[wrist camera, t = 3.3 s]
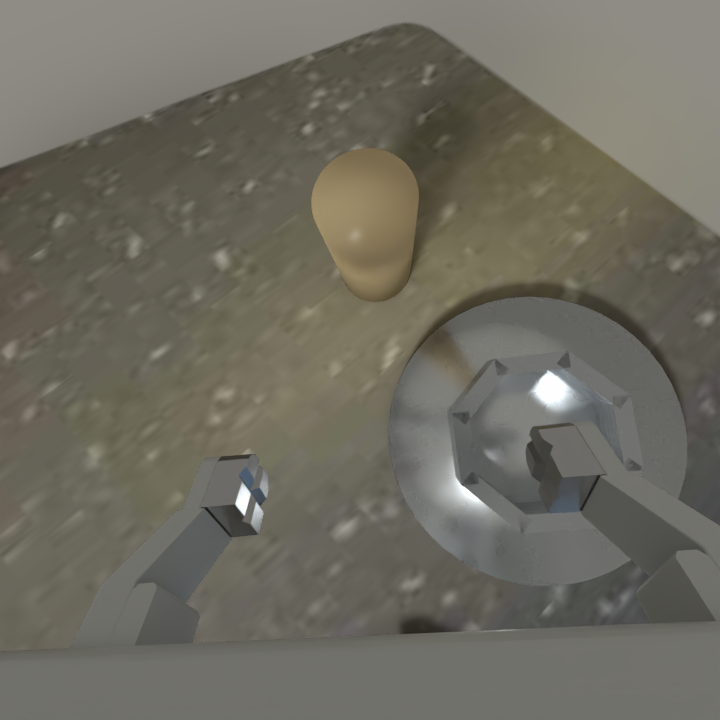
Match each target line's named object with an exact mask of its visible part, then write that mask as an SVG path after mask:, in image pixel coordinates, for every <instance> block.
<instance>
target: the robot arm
mask: <svg viewBox="0 0 720 720" xmlns="http://www.w3.org/2000/svg"><path fill="white" fill-rule="evenodd" d="M529 435H530V437H531V439H532V441H530V442H529V443H528V444H527V446H526V451H525V452H526V461H527V465H528V468H529V471H530V473H531V475H532V477H533V478H535V479H536V480H537V481H539V482H540V486H539V490H538V492H539V494H540V496H541V499H542V501H543V503H544V505H545V508H546V510H547V512H548V513H570V512H581V514H582V515H583V516H584V517H585V518H586V519H587V520H588V521H589V522H590V523H591V524H593V525H594V526H595V527H596V528H597V529H598V530H599V531H600V532H601V533H603V534H604V535H605V536H606V537H607V538H608V539H609V540H610V541H611V542H612V543H614V544H615V545H616V546H617V547H618V548H619V549H620V550H621V551H622V552H623V553H625V554H626V555H627V556H628V557H629V558H630V559H631V560H632V561H633V562H635V563H636V564H637V565H638V566H639V567H640V568H641V569H642V570H643V571H644V572H646V573H647V574H648V575H649V576H650V578H648V579H647V580H646V581H645V582H644V583H643V584H642V585H641V586H640V587H639V588H638V590H637V592H636V596H637V598H638V600H639V602H640V604H641V606H642V608H643V610H644V611H645V613H646V615H647V617H648V619H649V621H650V623H651V624H628V625H605V626H581V627H558V628H534V629H510V630H487V631H463V632H440V633H416V634H393V635H369V636H346V637H322V638H299V639H275V640H251V641H228V642H204V643H193V639H194V636H195V632H196V629H197V625H198V621H199V618H200V615H199V613H198V611H196V610H195V609H193V608H192V607H190V606H189V605H187V604H186V602H187V600H188V599H189V597H190V596H191V595H192V593H193V592H194V591H195V589H196V588H197V586H198V585H199V584H200V582H201V581H202V579H203V578H204V577H205V575H206V574H207V573H208V571H209V570H210V568H211V567H212V566H213V564H214V563H215V561H216V560H217V559H218V557H219V556H220V555H221V553H222V552H223V550H224V549H225V548H226V546H227V545H228V544H229V542H230V541H231V539H232V538H231V537H240V536H250V535H259V530H260V526H261V521H262V517H263V511H262V509H261V507H260V505H261V504H262V503H263V502H264V501H265V500H266V498H267V494H268V476H267V473H266V471H265V469H264V468H263V467H261V466H259V465H258V463H259V459H258V457H257V456H256V454H247V455H234V456H220V457H209V458H205V459H204V460H203V462H202V463H201V465H200V467H199V470H198V472H197V474H196V477H195V479H194V482H193V484H192V487H191V489H190V491H189V494H188V496H187V499H186V501H185V504H184V506H183V508H182V510H177V511H176V512H175V513H174V514H173V515H172V516H171V517H170V518H169V519H168V520H167V521H166V522H165V523H164V524H163V525H162V526H161V527H160V528H159V529H158V530H157V531H156V532H155V533H154V534H153V535H152V536H151V537H150V538H149V539H147V540H146V541H145V542H144V543H143V544H142V545H141V546H140V547H139V548H138V549H137V550H136V551H135V552H134V553H133V554H132V555H131V556H130V557H129V558H128V559H127V560H126V561H125V562H124V563H123V564H122V565H121V566H120V567H119V568H118V569H117V570H116V571H115V572H114V573H113V574H112V575H111V576H110V577H109V578H108V579H107V580H106V581H105V582H104V583H103V584H102V585H101V587H100V589H99V591H98V593H97V595H96V597H95V599H94V601H93V603H92V605H91V607H90V609H89V611H88V613H87V615H86V617H85V619H84V621H83V623H82V625H81V627H80V629H79V631H78V633H77V635H76V637H75V639H74V640H73V642H72V644H71V646H70V648H63V649H39V650H16V651H0V720H720V526H719V525H717V524H716V523H714V522H713V521H711V520H709V519H708V518H706V517H705V516H703V515H701V514H700V513H698V512H697V511H695V510H693V509H692V508H690V507H689V506H687V505H685V504H684V503H682V502H681V501H679V500H677V499H676V498H674V497H673V496H671V495H670V494H668V493H666V492H665V491H663V490H662V489H660V488H658V487H657V486H655V485H654V484H652V483H650V482H649V481H647V480H646V479H644V478H642V477H641V476H639V475H638V474H636V473H628V471H627V470H626V468H625V467H624V465H623V464H622V462H621V461H620V460H619V458H618V457H617V455H616V454H615V452H614V451H613V449H612V448H611V447H610V445H609V444H608V442H607V441H606V439H605V438H604V436H603V435H602V434H601V432H600V431H599V429H598V428H597V426H596V425H595V424H594V423H593V422H591V421H583V422H575V423H560V424H551V425H542V426H533V427H532V428H531V430H530V434H529Z"/></svg>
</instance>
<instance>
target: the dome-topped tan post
mask: <svg viewBox="0 0 720 720" xmlns="http://www.w3.org/2000/svg"><path fill="white" fill-rule="evenodd" d="M311 202H312V213H313V217H314V220H315V222H316V224H317V226H318V228H319V230H320V232H321V235H322V237H323V239H324V241H325V243H326V245H327V247H328V249H329V251H330V253H331V255H332V257H333V259H334V261H335V264H336V266H337V268H338V270H339V272H340V274H341V276H342V278H343V280H344V282H345V284H346V286H347V287H348V289H349V290H350V291H351V292H352V293H353V294H354V295H355V296H357V297H359V298H361V299H363V300H366V301H372V302H378V301H384V300H387V299H390V298H392V297H394V296H395V295H397V294H398V293H399V292H400V291H401V290H402V289H403V288H404V286H405V285H406V283H407V281H408V279H409V276H410V272H411V264H412V255H413V247H414V238H415V230H416V221H417V213H418V204H419V190H418V185H417V181H416V179H415V176H414V174H413V173H412V171H411V169H410V168H409V167H408V165H407V164H406V163H405V162H404V161H403V160H401V159H400V158H399V157H397V156H396V155H394V154H392V153H390V152H387V151H385V150H381V149H375V148H362V149H356V150H352V151H349V152H347V153H344V154H342V155H340V156H339V157H337V158H336V159H334V160H333V161H332V162H330V163H329V164H328V165H327V166H326V167H325V169H324V170H323V171H322V172H321V174H320V175H319V177H318V179H317V181H316V183H315V186H314V189H313V193H312V201H311Z"/></svg>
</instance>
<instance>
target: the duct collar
mask: <svg viewBox="0 0 720 720" xmlns="http://www.w3.org/2000/svg"><path fill="white" fill-rule="evenodd" d="M583 421H591V422H593V423H594V424H595V425H596V426H597V428H598V429H599V431H600V432H601V434H602V435H603V436H604V438H605V439H606V441H607V442H608V444H609V445H610V447H611V448H612V449H613V451H614V452H615V454H616V455H617V457H618V458H619V460H620V461H621V462H622V464H623V465H624V467H625V468H626V470H627V471H628V473H636V474H638V475H639V476H641V477H642V478H644V479H646V480H647V481H649V482H650V483H652V484H654V485H655V486H657V487H658V488H660V489H662V490H663V491H665V492H666V493H668V494H670V495H671V496H673V497H674V498H676V499H677V500H678V498H679V495H680V492H681V488H682V485H683V482H684V477H685V471H686V464H687V436H686V428H685V421H684V417H683V414H682V410H681V406H680V403H679V400H678V398H677V395H676V393H675V391H674V388H673V386H672V384H671V382H670V380H669V379H668V377H667V375H666V374H665V372H664V370H663V368H662V367H661V365H660V364H659V363H658V362H657V360H656V359H655V358H654V356H653V355H652V354H651V353H650V351H649V350H648V349H647V348H646V347H645V346H644V345H643V344H642V343H641V342H640V341H639V340H638V339H637V338H636V337H635V336H633V335H632V334H631V333H630V332H628V331H627V330H626V329H624V328H623V327H622V326H621V325H619V324H618V323H616V322H614V321H613V320H611V319H609V318H608V317H606V316H604V315H602V314H600V313H598V312H596V311H593V310H591V309H589V308H587V307H584V306H581V305H578V304H575V303H571V302H568V301H564V300H558V299H552V298H546V297H515V298H506V299H501V300H496V301H491V302H488V303H485V304H482V305H479V306H476V307H473V308H471V309H469V310H467V311H465V312H463V313H461V314H459V315H457V316H456V317H454V318H452V319H451V320H449V321H448V322H446V323H445V324H443V325H442V326H441V327H440V328H438V329H437V330H436V331H435V332H434V333H433V334H431V335H430V336H429V337H428V338H427V339H426V340H425V342H424V343H423V344H422V345H421V346H420V347H419V348H418V349H417V351H416V352H415V354H414V355H413V357H412V358H411V360H410V361H409V362H408V364H407V366H406V368H405V370H404V372H403V374H402V376H401V378H400V380H399V383H398V385H397V388H396V391H395V394H394V397H393V402H392V407H391V411H390V421H389V447H390V454H391V460H392V465H393V469H394V473H395V476H396V479H397V482H398V485H399V487H400V490H401V492H402V494H403V496H404V498H405V500H406V503H407V504H408V506H409V507H410V509H411V511H412V512H413V514H414V515H415V517H416V519H417V520H418V521H419V522H420V524H421V525H422V526H423V527H424V529H425V530H426V531H427V532H428V533H429V535H430V536H431V537H433V538H434V539H435V540H436V541H437V542H438V543H439V544H440V545H441V546H442V547H443V548H444V549H446V550H447V551H448V552H450V553H451V554H452V555H454V556H455V557H456V558H458V559H459V560H461V561H462V562H464V563H466V564H468V565H469V566H471V567H473V568H475V569H476V570H479V571H481V572H483V573H486V574H488V575H491V576H493V577H495V578H499V579H503V580H506V581H510V582H514V583H520V584H527V585H534V586H558V585H566V584H574V583H578V582H582V581H586V580H590V579H594V578H596V577H599V576H601V575H603V574H606V573H608V572H611V571H613V570H615V569H616V568H618V567H620V566H621V565H623V564H625V563H626V562H628V561H630V560H631V559H630V558H629V557H628V556H627V555H626V554H625V553H623V552H622V551H621V550H620V549H619V548H618V547H617V546H616V545H615V544H614V543H612V542H611V541H610V540H609V539H608V538H607V537H606V536H605V535H604V534H603V533H601V532H600V531H599V530H598V529H597V528H596V527H595V526H594V525H593V524H591V523H590V522H589V521H588V520H587V519H586V518H585V517H584V516H583V515H582V514H581V512H570V513H548V512H547V510H546V508H545V505H544V503H543V501H542V499H541V496H540V494H539V492H538V490H539V486H540V482H539V481H537V480H536V479H535V478H533V477H532V475H531V473H530V471H529V468H528V465H527V461H526V452H525V451H526V446H527V444H528V443H529V442H530V441H532V439H531V437H530V435H529V434H530V430H531V428H532V427H533V426H542V425H551V424H560V423H575V422H583Z"/></svg>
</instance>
